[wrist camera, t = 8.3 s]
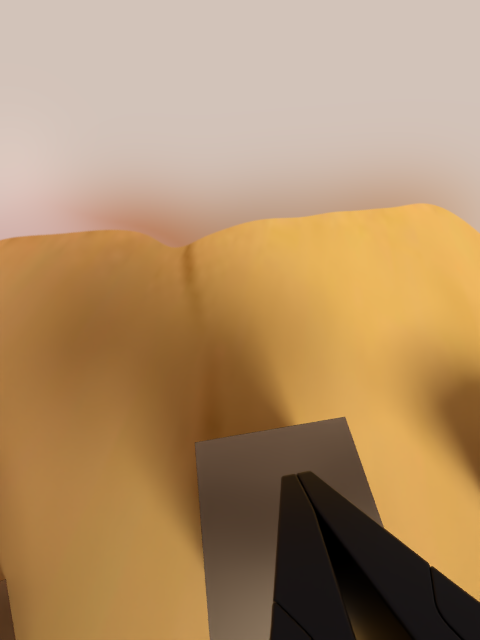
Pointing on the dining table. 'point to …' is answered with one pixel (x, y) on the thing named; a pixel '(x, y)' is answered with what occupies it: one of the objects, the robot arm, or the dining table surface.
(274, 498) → the plain block
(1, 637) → the marked block 2
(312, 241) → the dining table surface
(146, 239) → the dining table surface
